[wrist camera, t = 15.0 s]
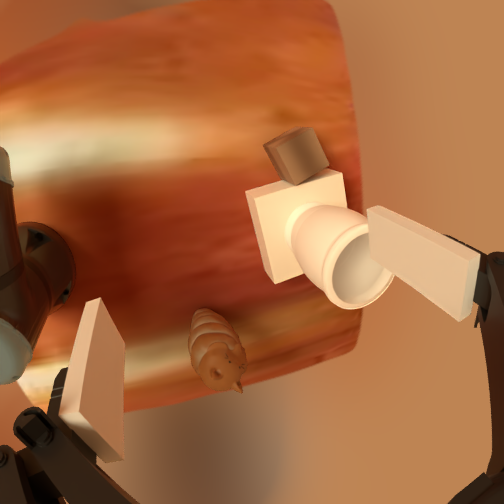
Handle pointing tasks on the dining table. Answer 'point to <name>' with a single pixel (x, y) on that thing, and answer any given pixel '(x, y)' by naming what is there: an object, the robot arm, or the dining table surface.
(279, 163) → the walnut cube
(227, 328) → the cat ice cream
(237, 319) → the dining table surface
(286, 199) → the cream block
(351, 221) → the jar
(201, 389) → the dining table surface
